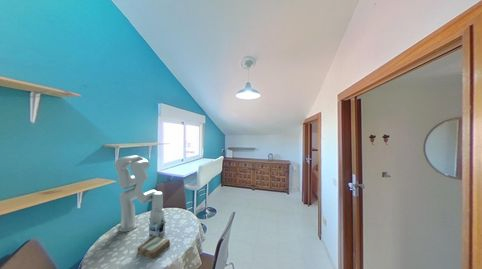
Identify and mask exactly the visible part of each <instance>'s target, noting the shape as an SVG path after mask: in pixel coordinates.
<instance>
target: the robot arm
mask: <svg viewBox="0 0 482 269" xmlns="http://www.w3.org/2000/svg"><path fill="white" fill-rule="evenodd" d="M150 166H151V165H150V161H148V160H147V159H146V158H144V157H142V156H140V155H138V154H135V155H127V156H121V157H119V158H117V159H115V162H114V168H115V171H116V173H117V178H118V184H119V187H120V189H121V190H123V192H121V193H120V194H119V198H118V199H119V202H120V208H121V210H120V218H121V220H120V222H119V223H118V224H119V225H120V226H119V229H118V230H119V232H121V233H124V232H125V233H126V232H129V231H133V230H135V229H136V228H137V226H138V222H136V207H135V206H136V205H135V203H134V202H133V201H134V200H136V199H137V202H139V203H140V204H141V205H143V204H147V203H148V202H151V210H150V214H149V215H150V216H149V218H148V220H149V222H150V223H151V222H153V223H156V224H158V225H160V228H159V232H162V231H163V226H164V225H165V226H166V224H167V221H166V219H165V220H164V218H165V213H164V207H163V206H164V204H163V203H164V198H163V196H164V193H163V192H162V191H157V190H156V189H150V190H148V191H145V192H144V191H143V186H144V183H145V182H146V181H147V180H148V179H149V176H148V173H147V171H146V170H148V169H149V168H150ZM128 167H129V168H130V169H131V171H130V170H129V168H128ZM131 172H132V175H131ZM150 223H149V224H150ZM161 223H162V225H161Z"/></svg>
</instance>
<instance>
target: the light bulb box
mask: <svg viewBox="0 0 482 269" xmlns="http://www.w3.org/2000/svg"><path fill="white" fill-rule="evenodd" d="M164 220H165V221H166V218H165V217H164ZM161 225H162V223H161ZM159 228H160V225H158V224H156V223H153V222H151V223H149V224H148V238H149V239H150V238H152V237H153V236H159V237H161V236H162V235H163V234H164V233H165V232H166V224H165V225H164V226H163V231H162V232H159Z"/></svg>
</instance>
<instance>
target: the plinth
mask: <svg viewBox="0 0 482 269" xmlns="http://www.w3.org/2000/svg"><path fill="white" fill-rule="evenodd" d="M170 242H171V241H170V239H168V238H165V237H162V236H153V237H152V238H149V239H148V240H146V241H145V242H144V243H143V244H141V245H139V246H138V247H137V254H138V255H140V256H143V257H147V258H148V259H151V260H155V258H158V256H159V255H161V254H162V253H163V252H164V251H165V250H166V249H167V248H168V247H170V246H171V244H170Z"/></svg>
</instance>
